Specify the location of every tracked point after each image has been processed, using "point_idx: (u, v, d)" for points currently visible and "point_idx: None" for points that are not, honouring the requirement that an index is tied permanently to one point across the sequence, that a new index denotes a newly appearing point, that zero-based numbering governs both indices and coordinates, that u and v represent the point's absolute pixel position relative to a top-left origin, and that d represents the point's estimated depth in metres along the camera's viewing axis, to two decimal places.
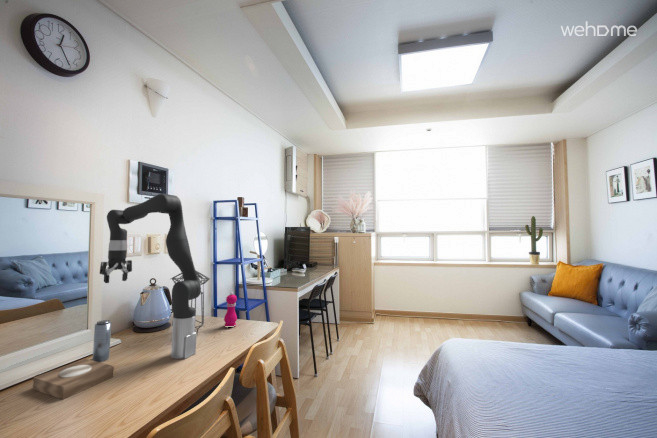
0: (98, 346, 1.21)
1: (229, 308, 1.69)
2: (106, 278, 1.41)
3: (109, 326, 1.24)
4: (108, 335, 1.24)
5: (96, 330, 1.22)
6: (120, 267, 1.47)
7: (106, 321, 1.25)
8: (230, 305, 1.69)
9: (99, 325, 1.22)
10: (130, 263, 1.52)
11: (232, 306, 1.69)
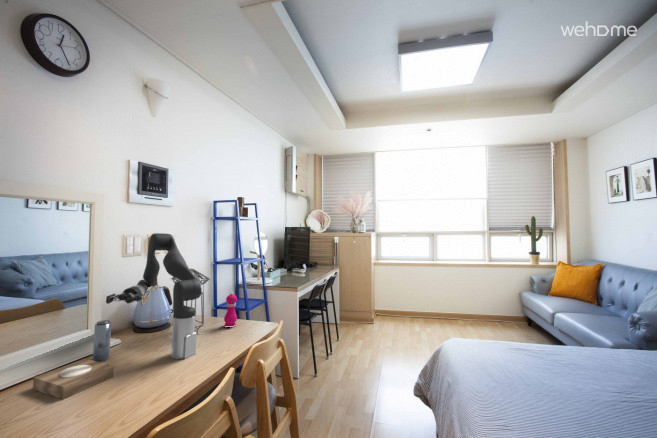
0: (98, 346, 1.21)
1: (229, 308, 1.69)
2: (108, 298, 1.37)
3: (109, 326, 1.24)
4: (108, 335, 1.24)
5: (96, 330, 1.22)
6: (127, 295, 1.43)
7: (106, 321, 1.25)
8: (230, 305, 1.69)
9: (99, 325, 1.22)
10: (140, 294, 1.45)
11: (232, 306, 1.69)
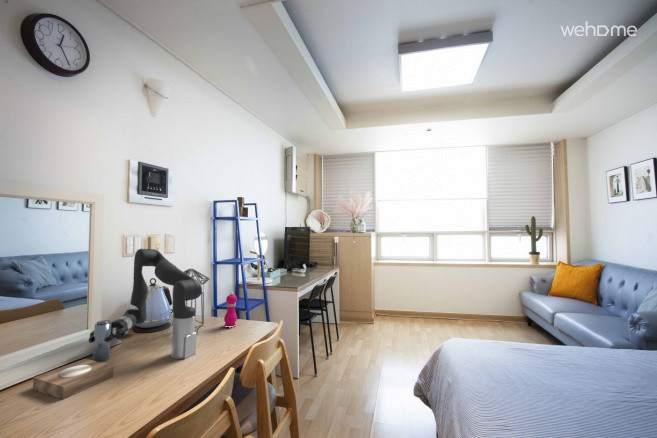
0: (98, 346, 1.21)
1: (229, 308, 1.69)
2: (91, 336, 1.23)
3: (109, 326, 1.24)
4: (108, 335, 1.24)
5: (96, 330, 1.22)
6: (112, 330, 1.29)
7: (106, 321, 1.25)
8: (230, 305, 1.69)
9: (99, 325, 1.22)
10: (124, 329, 1.31)
11: (232, 306, 1.69)
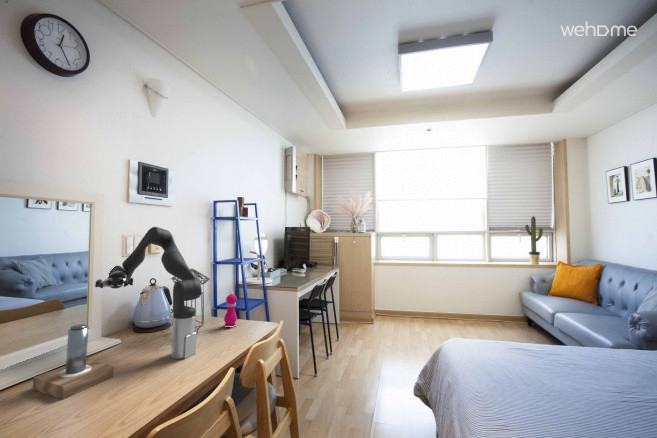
0: (75, 355, 1.03)
1: (229, 308, 1.69)
2: (100, 283, 1.31)
3: (87, 330, 1.07)
4: (86, 341, 1.06)
5: (72, 336, 1.03)
6: (118, 280, 1.38)
7: (82, 325, 1.07)
8: (230, 305, 1.69)
9: (76, 330, 1.04)
10: (131, 278, 1.42)
11: (232, 306, 1.69)
